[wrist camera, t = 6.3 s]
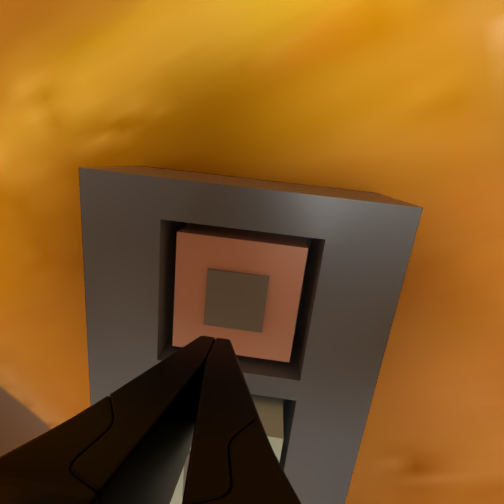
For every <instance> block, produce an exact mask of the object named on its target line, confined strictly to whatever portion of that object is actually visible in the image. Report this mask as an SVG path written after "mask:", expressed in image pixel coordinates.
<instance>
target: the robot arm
mask: <svg viewBox="0 0 504 504" xmlns="http://www.w3.org/2000/svg"><path fill="white" fill-rule="evenodd" d="M190 448H191V451H190ZM189 451H190V457H189V463H188V469H187V475H186V482H185V488H184V494H183V500H182V504H302V503H301V502H300V500H299V498H298V496H297V494H296V492H295V491H294V489H293V487H292V485H291V483H290V482H289V480H288V478H287V476H286V474H285V472H284V471H283V469H282V467H281V465H280V463H279V461H278V459H277V457H276V455H275V453H274V451H273V449H272V447H271V444H270V442H269V439H268V437H267V435H266V432H265V430H264V427H263V425H262V422H261V420H260V417H259V414H258V412H257V409H256V406H255V404H254V401H253V398H252V396H251V393H250V391H249V388H248V385H247V383H246V380H245V377H244V375H243V372H242V369H241V367H240V364H239V361H238V359H237V356H236V353H235V351H234V348H233V346H232V343H231V341H230V340H229V339H224V338H216V339H215V338H214V337H209V336H199V337H198V338H196V339H195V340H193V341H192V342H190V343H189V344H187V345H185V346H184V347H182V348H181V349H179V350H178V351H176V352H175V353H173V354H172V355H170V356H168V357H167V358H165V359H164V360H162V361H161V362H159V363H158V364H156V365H154V366H153V367H151V368H150V369H148V370H147V371H145V372H144V373H142V374H140V375H139V376H137V377H136V378H134V379H133V380H131V381H130V382H128V383H126V384H125V385H123V386H122V387H120V388H119V389H117V390H116V391H114V392H112V393H111V394H110V396H106V397H105V398H103V399H101V400H100V401H98V402H97V403H95V404H94V405H92V406H90V407H89V408H87V409H85V410H84V411H82V412H81V413H79V414H77V415H76V416H74V417H72V418H71V419H69V420H67V421H65V422H63V423H62V424H60V425H58V426H56V427H55V428H53V429H51V430H49V431H48V432H46V433H44V434H42V435H40V436H38V437H36V438H34V439H33V440H31V441H29V442H27V443H25V444H23V445H21V446H19V447H18V448H16V449H14V450H12V451H10V452H8V453H6V454H5V455H3V456H1V457H0V504H170V502H171V499H172V497H173V494H174V491H175V488H176V486H177V483H178V480H179V478H180V475H181V472H182V469H183V467H184V464H185V461H186V459H187V456H188V453H189Z"/></svg>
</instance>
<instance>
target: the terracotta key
mask: <svg viewBox="0 0 504 504" xmlns="http://www.w3.org/2000/svg"><path fill="white" fill-rule="evenodd" d="M307 253H308V246H307V243H306V240H305V237H300V236H292V235H284V234H276V233H268V232H260V231H252V230H243V229H235V228H227V227H219V226H211V225H203V224H195V223H189V224H188V225H186V226H185V227H183V228H182V229H180V230H179V231H177V242H176V267H175V293H174V318H173V344H172V346H178V347H184V346H185V345H187V344H189V343H190V342H192V341H193V340H195V339H196V338H198V337H199V336H209V337H214V338H215V339H216V338H224V339H229V340H230V341H231V343H232V346H233V348H234V351H235V353H236V355H241V356H248V357H255V358H262V359H269V360H276V361H283V362H290V356H291V349H292V343H293V337H294V331H295V325H296V319H297V313H298V307H299V301H300V295H301V289H302V283H303V277H304V271H305V265H306V259H307Z"/></svg>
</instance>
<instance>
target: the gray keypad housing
mask: <svg viewBox="0 0 504 504" xmlns="http://www.w3.org/2000/svg"><path fill="white" fill-rule="evenodd" d="M79 182H80V202H81V222H82V242H83V262H84V282H85V302H86V322H87V342H88V361H89V381H90V401H91V406H92V405H94V404H95V403H97V402H98V401H100V400H101V399H103V398H105V397H106V396H110V394H111V393H112V392H114V391H116V390H117V389H119V388H120V387H122V386H123V385H125V384H126V383H128V382H130V381H131V380H133V379H134V378H136V377H137V376H139V375H140V374H142V373H144V372H145V371H147V370H148V369H150V368H151V367H153V366H154V365H156V364H158V363H159V362H161V361H162V360H164V359H165V358H167V357H168V356H170V355H172V354H173V353H175V352H176V351H178V350H179V349H181V348H182V347H178V346H172V344H173V318H174V293H175V267H176V242H177V231H179V230H180V229H182V228H183V227H185V226H186V225H188V224H189V223H195V224H203V225H211V226H219V227H227V228H235V229H243V230H252V231H260V232H268V233H276V234H284V235H292V236H300V237H305V240H306V243H307V246H308V253H307V259H306V265H305V271H304V277H303V283H302V289H301V295H300V301H299V307H298V313H297V319H296V325H295V331H294V337H293V343H292V349H291V356H290V362H283V361H276V360H269V359H262V358H255V357H248V356H241V355H236V356H237V359H238V361H239V364H240V367H241V369H242V372H243V375H244V377H245V380H246V383H247V385H248V388H249V391H250V393H251V394H254V395H261V396H267V397H274V398H281V399H283V434H284V439H283V445H282V451H281V457H280V462H279V463H280V465H281V467H282V469H283V471H284V472H285V474H286V476H287V478H288V480H289V482H290V483H291V485H292V487H293V489H294V491H295V492H296V494H297V496H298V498H299V500H300V502H301V503H302V504H345V500H346V496H347V492H348V489H349V485H350V481H351V477H352V473H353V470H354V466H355V462H356V458H357V455H358V451H359V447H360V443H361V439H362V436H363V432H364V428H365V424H366V421H367V417H368V413H369V409H370V405H371V402H372V398H373V394H374V390H375V387H376V383H377V379H378V375H379V371H380V368H381V364H382V360H383V356H384V352H385V349H386V345H387V341H388V337H389V334H390V330H391V326H392V322H393V318H394V315H395V311H396V307H397V303H398V300H399V296H400V292H401V288H402V284H403V281H404V277H405V273H406V269H407V265H408V262H409V258H410V254H411V250H412V247H413V243H414V239H415V235H416V231H417V228H418V224H419V220H420V216H421V213H422V209H423V208H422V207H419V206H416V205H413V204H410V203H407V202H404V201H400V200H397V199H394V198H391V197H388V196H385V195H382V194H378V193H371V192H362V191H354V190H345V189H336V188H328V187H319V186H310V185H302V184H293V183H284V182H275V181H267V180H258V179H249V178H241V177H232V176H223V175H215V174H206V173H197V172H189V171H180V170H171V169H162V168H154V167H145V166H116V167H82V168H79Z"/></svg>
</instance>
